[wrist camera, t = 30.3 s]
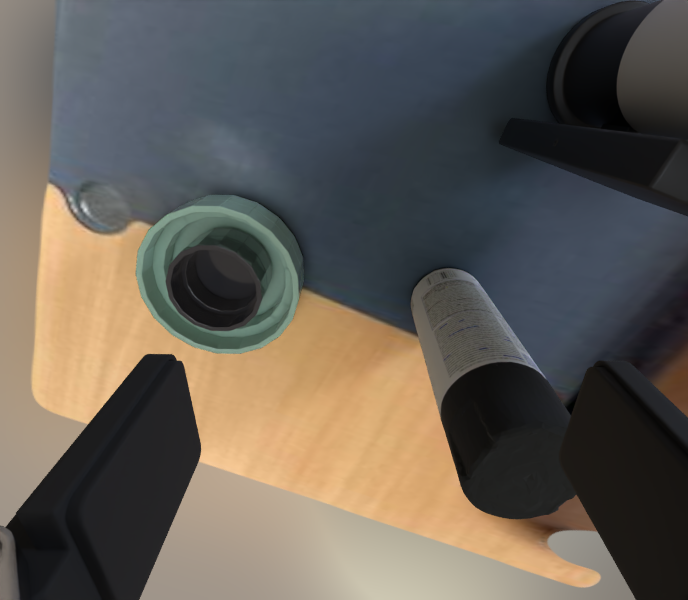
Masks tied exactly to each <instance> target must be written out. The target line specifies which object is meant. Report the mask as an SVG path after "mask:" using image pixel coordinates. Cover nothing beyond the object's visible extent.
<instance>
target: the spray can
mask: <svg viewBox="0 0 688 600" xmlns="http://www.w3.org/2000/svg"><path fill="white" fill-rule="evenodd" d="M411 311H412V315H413V319H414V322H415V326H416V330H417V333H418V337H419V340H420V344H421V348H422V351H423V355H424V359H425V362H426V366H427V369H428V373H429V377H430V381H431V384H432V388H433V392H434V395H435V399H436V402H437V406H438V410H439V413H440V417H441V421H442V424H443V427H444V430H445V433H446V437H447V440H448V444H449V447H450V450H451V454H452V457H453V460H454V463H455V467H456V470H457V474H458V477H459V481H460V485H461V487H462V490H463V492H464V494H465V495H466V497H467V498H468V500H469V501H470V502H471V503H472V504H473V505H474V506H475V507H476V508H478V509H480V510H481V511H483V512H486V513H488V514H491V515H494V516H498V517H502V518H508V519H527V518H533V517H537V516H542V515H549V514H551V513H553V512H555V511H557V510H558V508H559V506H561V505H562V504H563V503H564V502H565V501H567V500H569V499H572V498H573V497H574V496H575V495H576V492H575V491H574V489H573V487H572V485H571V483H570V482H569V480H568V478H567V476H566V475H565V473H564V471H563V469H562V467H561V465H560V461H559V452H560V448H561V445H562V442H563V439H564V436H565V433H566V430H567V427H568V424H569V421H570V418H571V416H570V414H569V413H568V411H567V410H566V408H565V407H564V405H563V403H562V402H561V400H560V399H559V397H558V396H557V394H556V393H555V391H554V390H553V388H552V387H551V385H550V384H549V382H548V381H547V380H546V378H545V376H544V375H543V374H542V372H541V371H540V370H539V368H538V367H537V365H536V364H535V362H534V361H533V360H532V358H531V357H530V355H529V354H528V352H527V351H526V349H525V348H524V347H523V345H522V344H521V342H520V341H519V339H518V338H517V337H516V335H515V334H514V332H513V331H512V329H511V328H510V327H509V325H508V324H507V322H506V321H505V319H504V318H503V317H502V315H501V314H500V312H499V311H498V309H497V308H496V306H495V305H494V304H493V302H492V301H491V299H490V298H489V296H488V295H487V294H486V292H485V291H484V289H483V288H482V286H481V285H480V284H479V282H478V281H477V280H476V279H475V278H474V277H473V276H472V275H470V274H469V273H467V272H465V271H462V270H458V269H452V268H444V269H439V270H434V271H433V272H431V273H430V274H428V275H427V276H425V277H424V278H423V279H422V280H421V281H420V282H419V283H418V284H417V286H416V287H415V288H414V290H413V294H412V297H411Z"/></svg>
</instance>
